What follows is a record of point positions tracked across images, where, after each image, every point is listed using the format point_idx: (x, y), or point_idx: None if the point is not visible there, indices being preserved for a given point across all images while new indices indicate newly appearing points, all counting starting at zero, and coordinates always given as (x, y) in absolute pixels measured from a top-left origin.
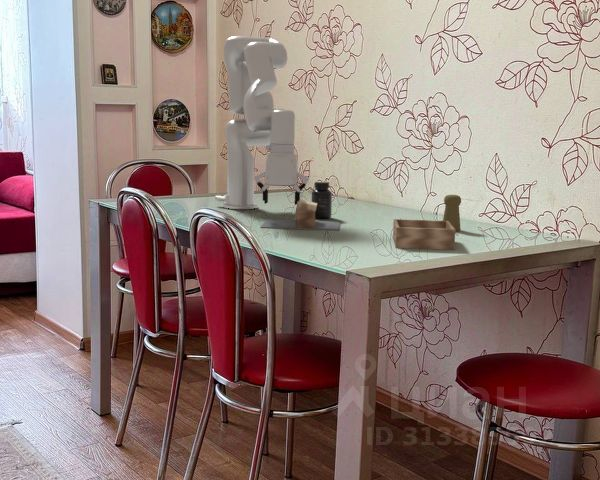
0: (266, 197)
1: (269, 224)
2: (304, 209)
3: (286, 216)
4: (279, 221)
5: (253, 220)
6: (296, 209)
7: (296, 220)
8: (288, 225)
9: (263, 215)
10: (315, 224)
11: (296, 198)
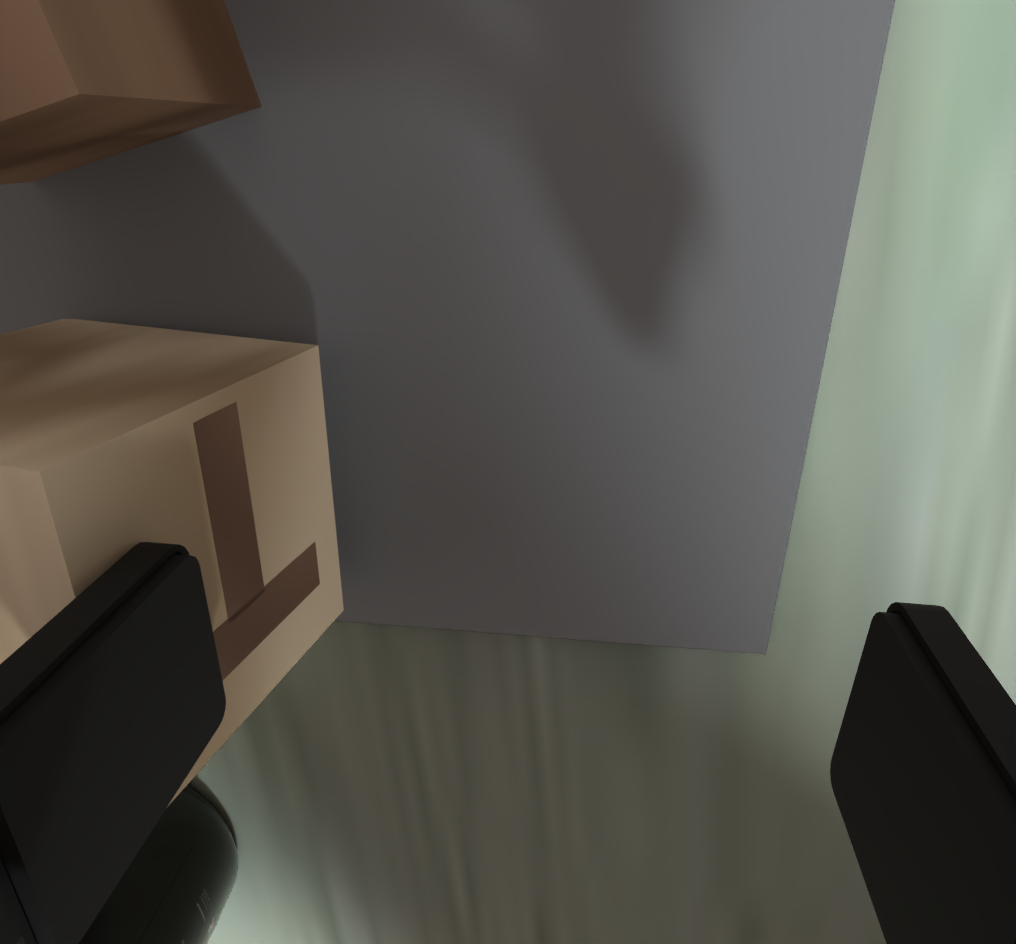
0: (951, 710)
1: (730, 137)
2: (13, 392)
3: (514, 892)
4: (567, 487)
5: (958, 608)
6: (177, 399)
7: (182, 20)
8: (381, 89)
9: (781, 936)
10: (10, 296)
11: (64, 622)
